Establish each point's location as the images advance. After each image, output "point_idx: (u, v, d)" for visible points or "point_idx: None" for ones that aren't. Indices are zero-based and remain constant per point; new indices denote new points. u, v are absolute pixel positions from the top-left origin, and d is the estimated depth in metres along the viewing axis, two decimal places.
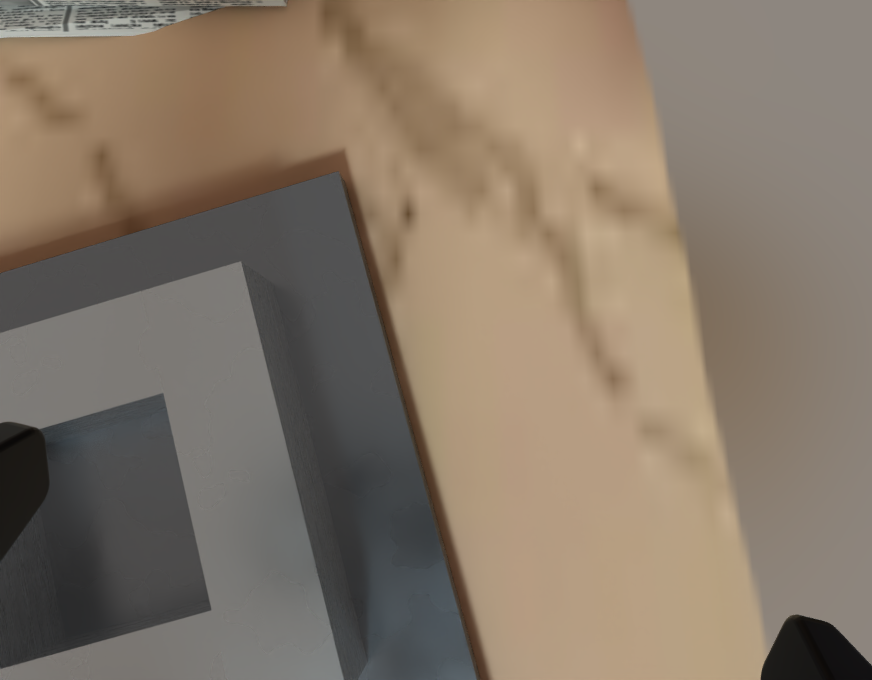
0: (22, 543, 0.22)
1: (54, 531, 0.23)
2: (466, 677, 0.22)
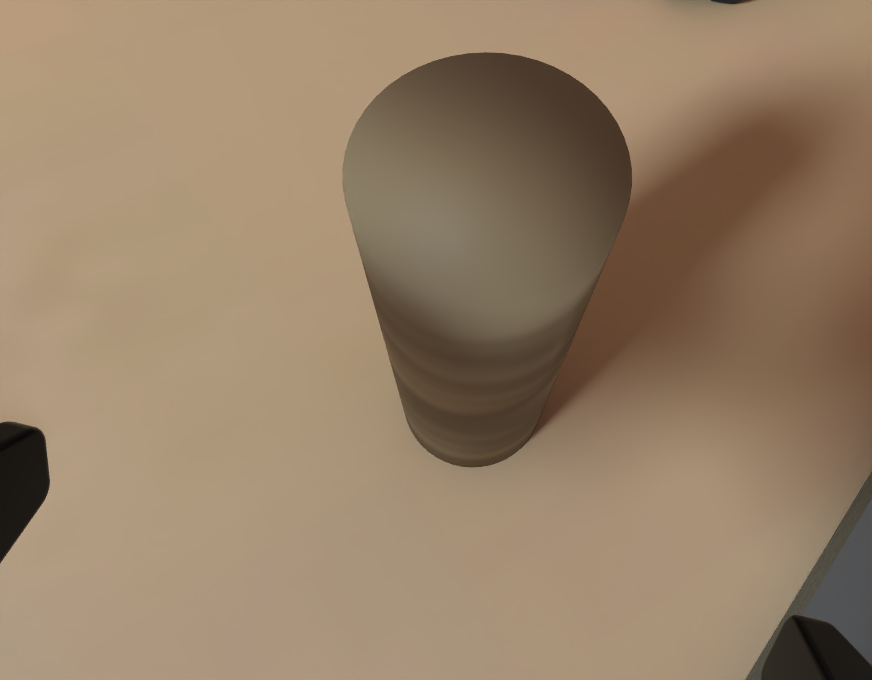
0: None
1: None
2: None
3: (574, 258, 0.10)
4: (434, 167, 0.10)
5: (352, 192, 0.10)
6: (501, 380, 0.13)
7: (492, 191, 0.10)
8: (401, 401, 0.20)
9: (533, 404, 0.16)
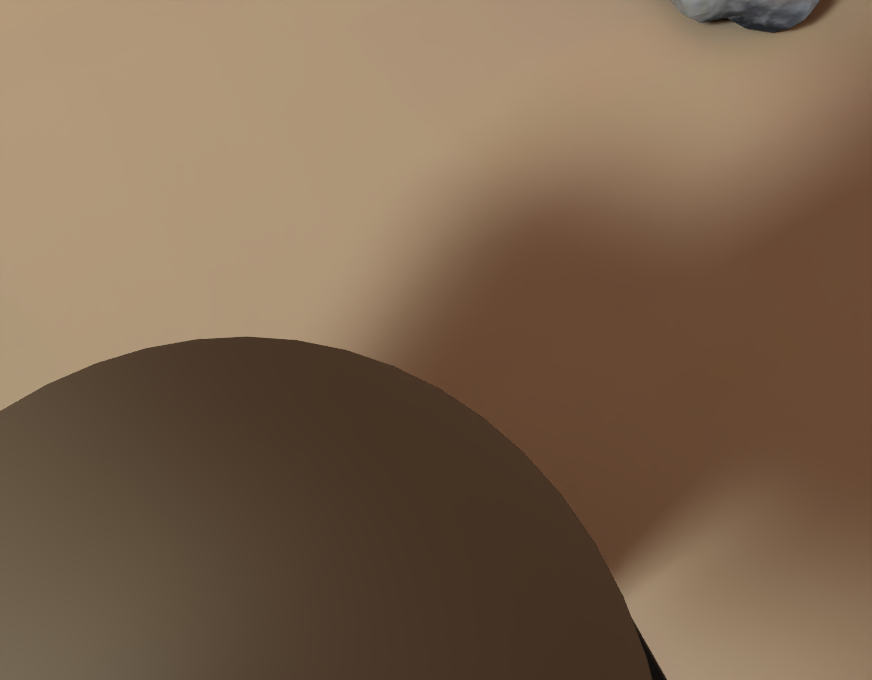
0: None
1: None
2: None
3: None
4: None
5: None
6: None
7: None
8: None
9: None
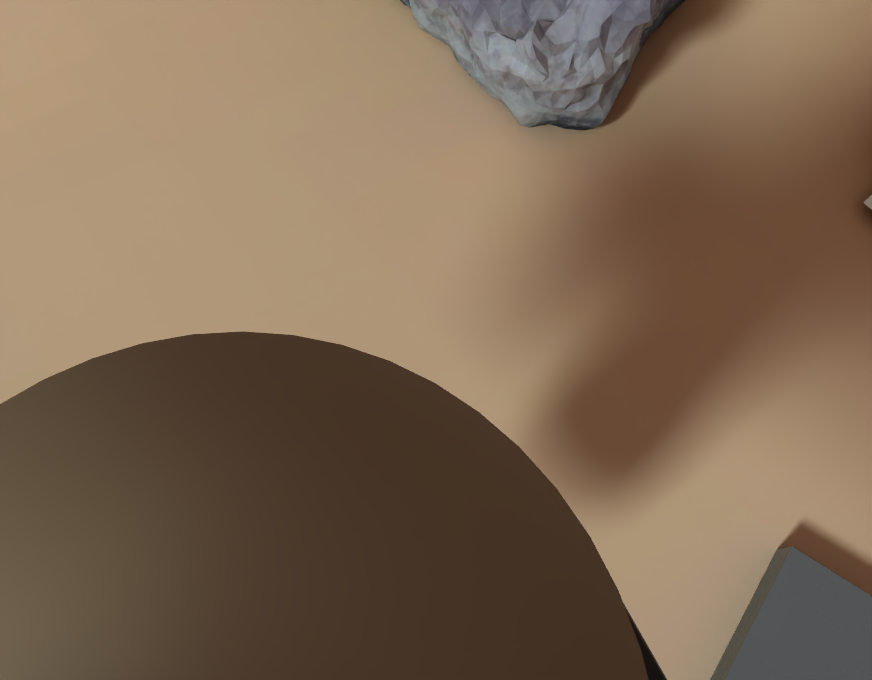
0: None
1: None
2: None
3: None
4: None
5: None
6: None
7: None
8: None
9: None
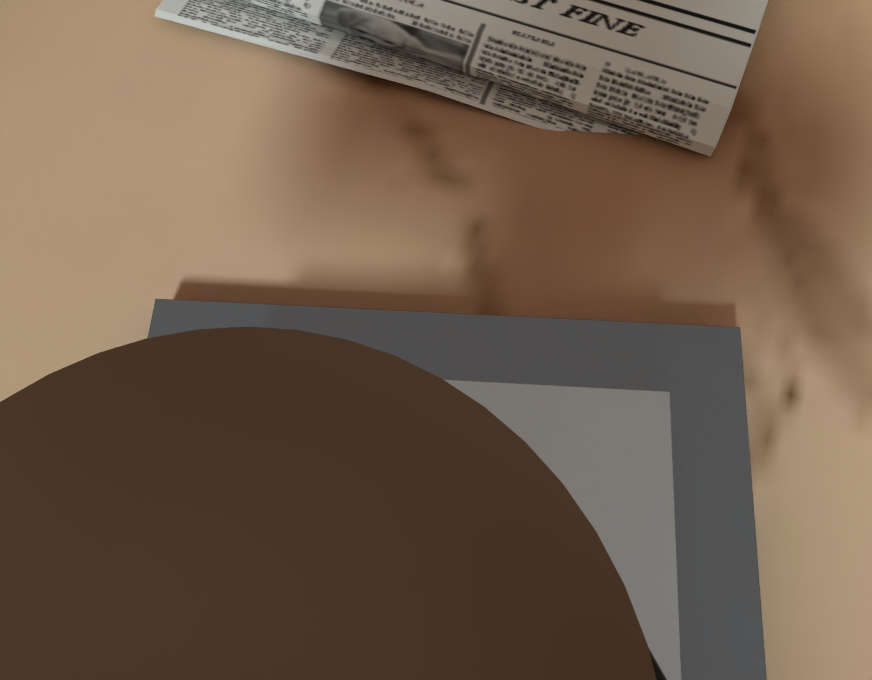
0: None
1: None
2: None
3: None
4: None
5: None
6: None
7: None
8: None
9: None
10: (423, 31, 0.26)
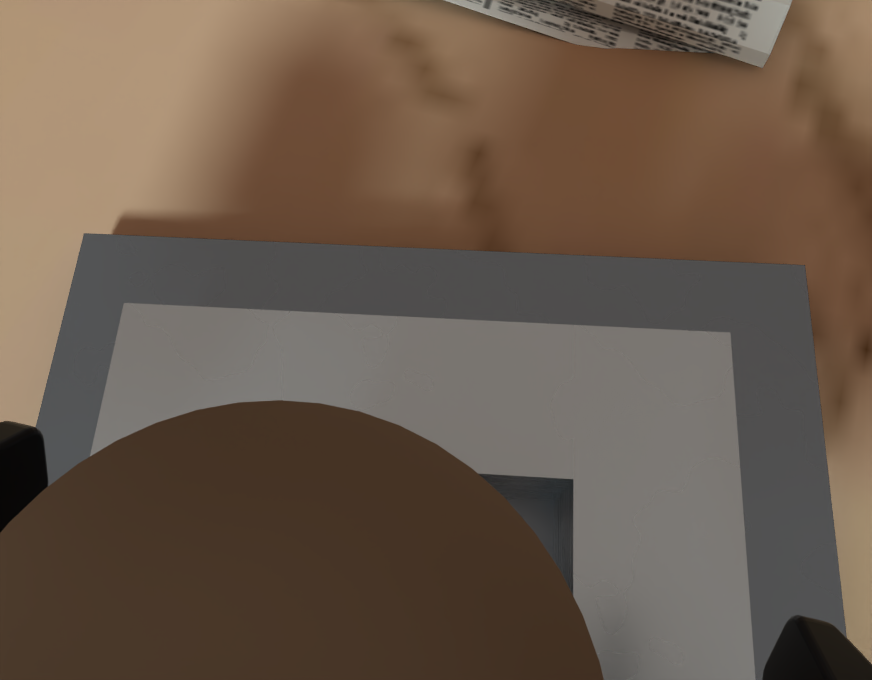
0: None
1: None
2: None
3: None
4: None
5: None
6: None
7: None
8: None
9: None
10: None
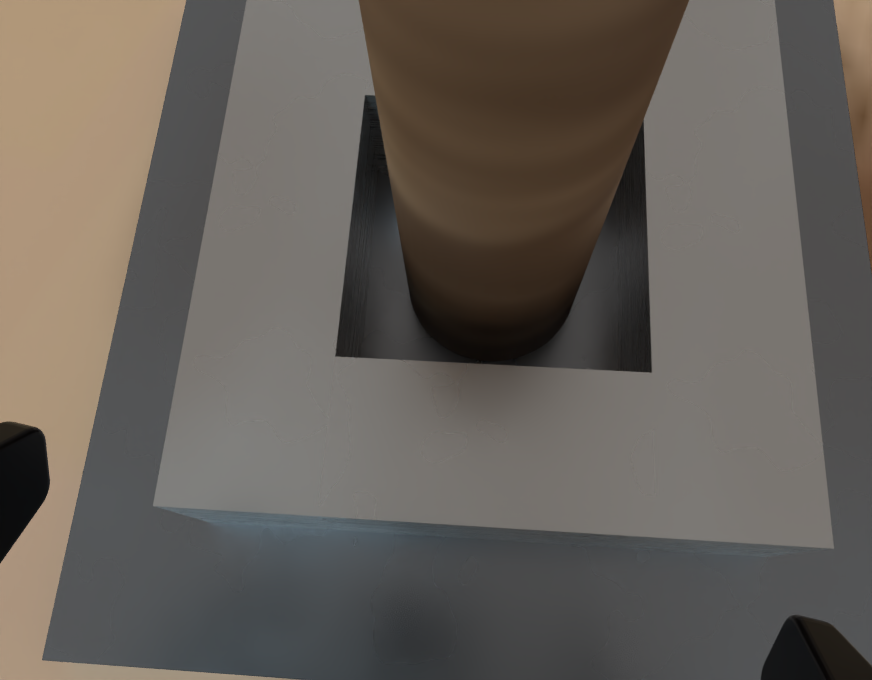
0: (362, 251, 0.17)
1: (382, 267, 0.18)
2: None
3: None
4: None
5: None
6: (548, 159, 0.09)
7: None
8: (406, 275, 0.16)
9: (579, 242, 0.12)
10: None
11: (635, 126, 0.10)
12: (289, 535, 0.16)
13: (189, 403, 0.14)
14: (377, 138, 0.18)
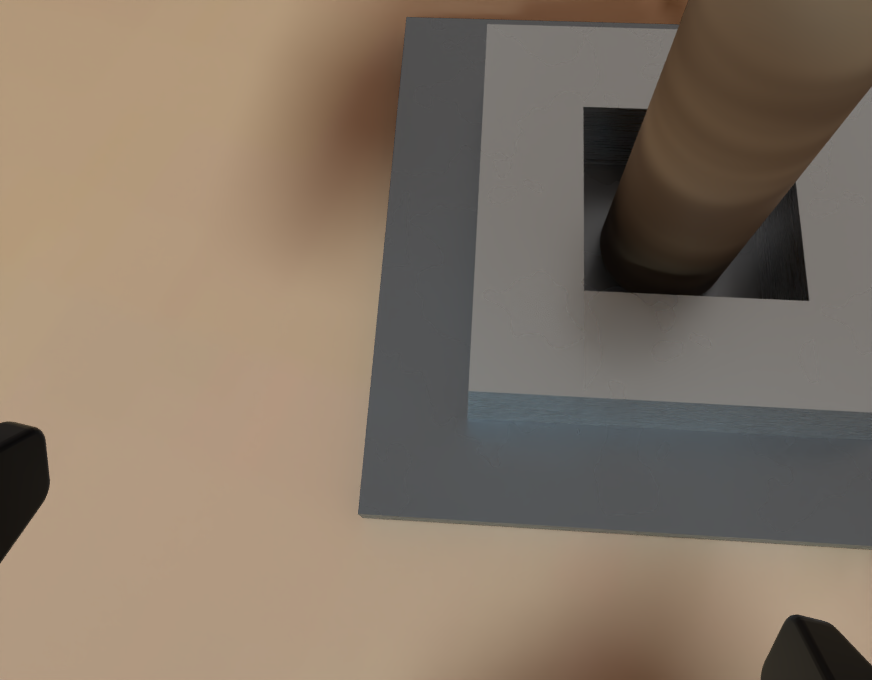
0: None
1: None
2: None
3: None
4: None
5: None
6: (793, 147, 0.15)
7: None
8: (612, 238, 0.22)
9: (773, 206, 0.18)
10: None
11: None
12: (529, 427, 0.22)
13: (484, 322, 0.20)
14: None
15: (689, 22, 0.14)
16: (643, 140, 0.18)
